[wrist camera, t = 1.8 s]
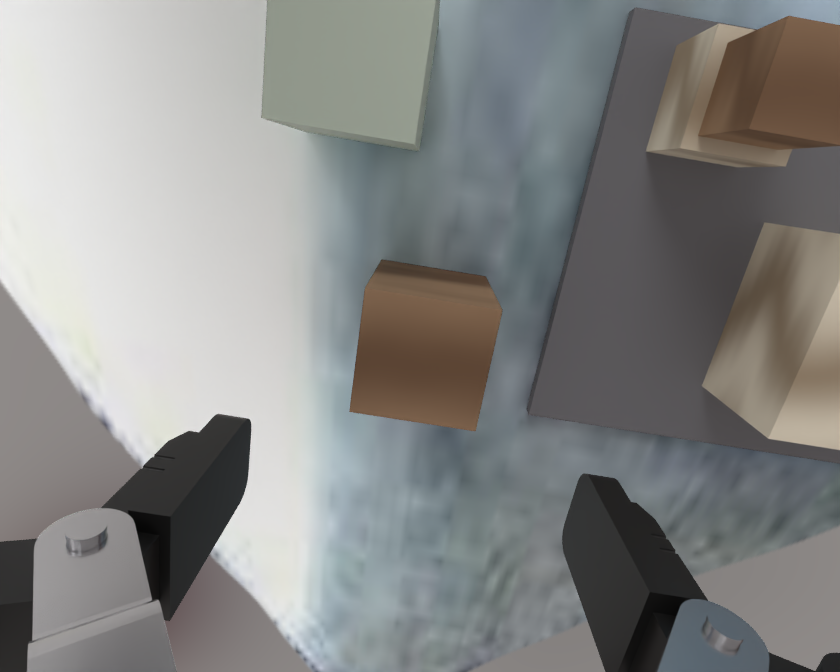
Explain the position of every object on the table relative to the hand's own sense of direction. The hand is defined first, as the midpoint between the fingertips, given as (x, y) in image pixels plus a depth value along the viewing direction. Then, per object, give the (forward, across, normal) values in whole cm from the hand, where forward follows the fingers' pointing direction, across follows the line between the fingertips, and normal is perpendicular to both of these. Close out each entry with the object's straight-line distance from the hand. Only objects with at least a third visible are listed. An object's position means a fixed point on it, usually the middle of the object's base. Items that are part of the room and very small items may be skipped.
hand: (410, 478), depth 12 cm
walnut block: (+13, 0, 0) cm, 13 cm away
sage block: (+13, +4, -10) cm, 17 cm away
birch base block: (+12, -18, -4) cm, 22 cm away
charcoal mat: (+13, -15, -6) cm, 21 cm away
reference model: (+12, -10, -11) cm, 19 cm away
